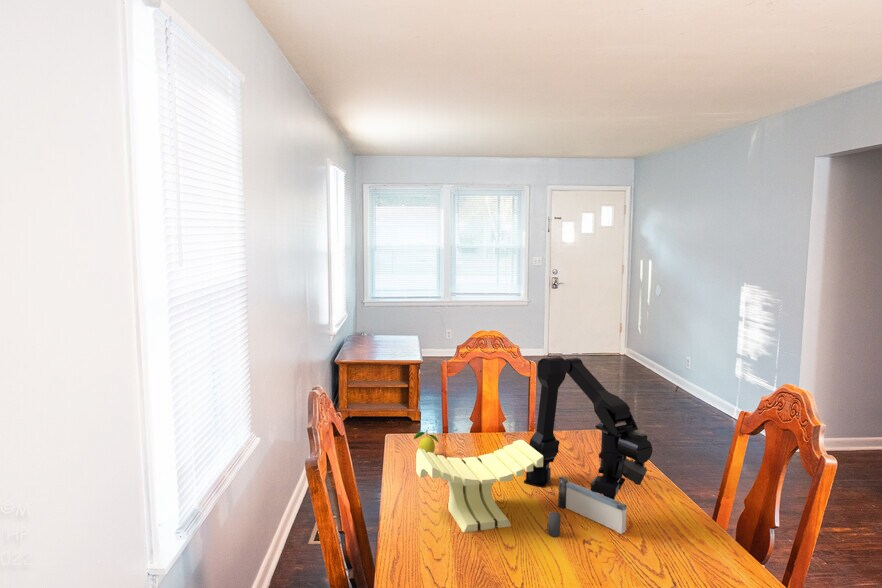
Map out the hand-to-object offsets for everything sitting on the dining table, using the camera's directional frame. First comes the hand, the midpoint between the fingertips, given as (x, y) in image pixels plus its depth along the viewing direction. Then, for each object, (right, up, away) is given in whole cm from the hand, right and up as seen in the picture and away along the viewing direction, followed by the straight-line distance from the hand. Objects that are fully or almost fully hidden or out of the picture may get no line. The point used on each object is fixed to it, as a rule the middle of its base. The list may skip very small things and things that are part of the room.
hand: (610, 506), depth 149 cm
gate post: (-11, -3, +8) cm, 14 cm away
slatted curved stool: (-35, -4, +3) cm, 35 cm away
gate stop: (-16, -5, -7) cm, 18 cm away
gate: (-4, -4, 0) cm, 6 cm away
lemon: (-50, 0, +43) cm, 66 cm away
